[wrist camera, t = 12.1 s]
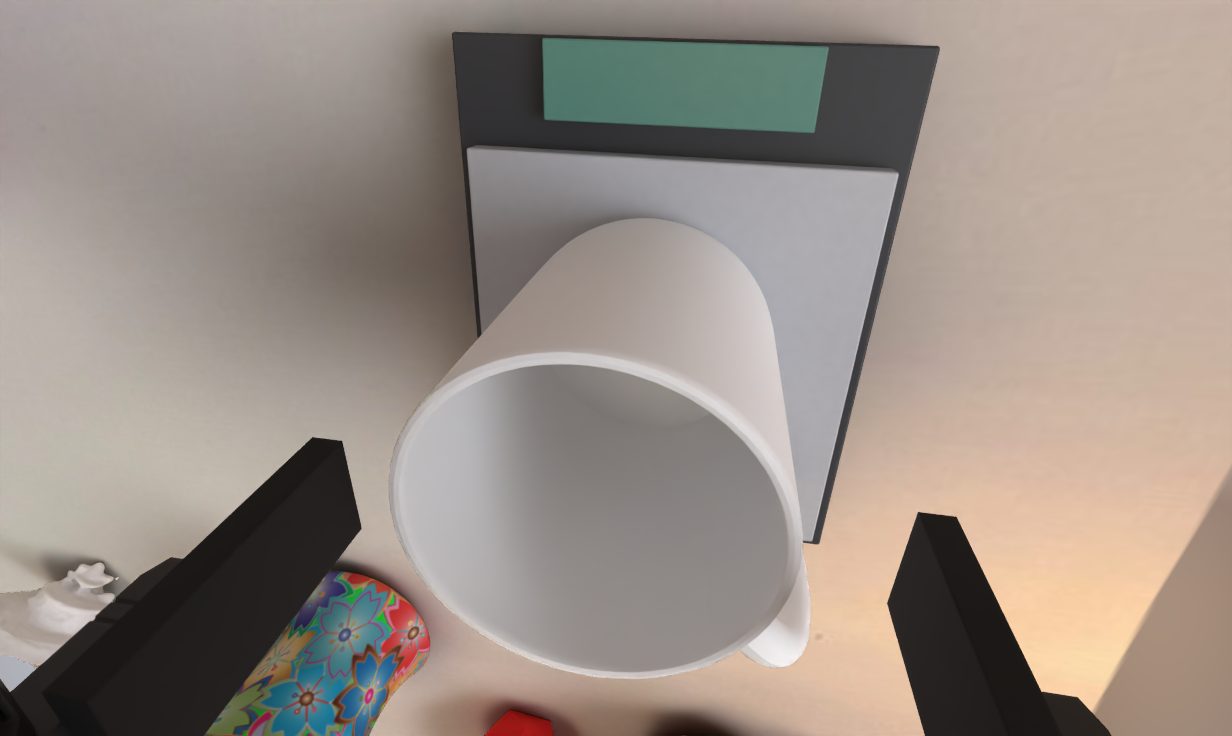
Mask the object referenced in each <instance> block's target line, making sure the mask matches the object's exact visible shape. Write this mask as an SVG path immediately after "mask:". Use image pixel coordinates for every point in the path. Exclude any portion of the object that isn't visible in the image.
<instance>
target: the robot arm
mask: <svg viewBox="0 0 1232 736" xmlns="http://www.w3.org/2000/svg"><path fill="white" fill-rule="evenodd" d="M360 530H361V523H360V519H359V514H358V510H357V505H356V501H355V496H354V492H353V487H352V483H351V479H350V474H349V470H348V465H347V461H346V456H345V452H344V447H343V443H342V441H338V440H330V439H322V438H314V437H312V438H311V439H310V440H309V441H308V442H307V443H306V444H305V445H304V446H303V447H302V448H301V449H300V450H299V451H297V452H296V453H295V454H294V455H293V456H292V457H291V458H290V459H289V460H288V461H287V462H286V463H285V464H284V465H283V466H282V467H280V468H279V469H278V470H277V471H276V472H275V473H274V474H273V475H272V476H271V477H270V478H269V479H268V480H267V481H266V482H265V483H263V484H262V485H261V486H260V487H259V488H258V489H257V490H256V491H255V492H254V493H253V494H252V495H251V496H250V497H249V498H248V499H246V500H245V501H244V502H243V503H242V504H241V505H240V506H239V507H238V508H237V509H236V510H235V511H234V512H233V513H232V514H231V515H229V516H228V517H227V518H226V519H225V520H224V521H223V522H222V523H221V524H220V525H219V526H218V527H217V528H216V529H215V530H214V531H212V532H211V533H210V534H209V535H208V536H207V537H206V538H205V539H204V540H203V541H202V542H201V543H200V544H199V545H198V546H197V547H195V548H194V549H193V550H192V551H191V552H190V553H189V554H188V555H187V556H186V557H185V558H184V559H179V558H172V557H171V558H169V559H167V560H166V561H164V562H162V563H161V564H159V565H157V566H156V567H154V568H152V569H150V570H149V571H147V572H145V573H144V574H142V575H140V576H139V577H138V578H137V579H136V580H135V581H134V582H133V583H131V584H130V585H129V586H128V587H127V588H126V589H125V590H124V591H123V592H121V593H120V594H119V595H118V596H117V597H116V600H115V601H114V602H110V603H109V604H108V605H107V606H106V607H105V608H104V609H103V610H101V611H100V612H99V613H98V614H97V615H96V616H95V619H94V621H89V622H88V623H87V624H86V625H85V626H84V627H83V628H81V629H80V630H79V631H78V632H77V633H76V634H75V635H74V636H73V637H71V638H70V639H69V640H68V641H67V642H66V643H65V644H64V645H63V646H61V647H60V648H59V649H58V650H57V651H56V652H55V653H54V654H53V655H51V656H50V657H49V658H48V659H47V660H46V661H45V662H44V663H43V664H41V665H40V666H39V667H38V668H37V669H36V670H35V671H34V672H33V673H31V674H30V675H29V676H28V677H27V678H26V679H25V680H24V681H23V682H21V683H20V684H19V685H18V686H17V687H16V688H15V689H14V690H12V691H11V692H9V691H8V689H7V688H6V686H5V685H4V683H3V682H2V681H1V679H0V736H204V735H205V734H206V732H207V731H208V730H209V728H210V727H211V726H212V724H213V723H214V722H215V720H216V719H217V718H218V716H219V715H220V714H221V713H222V711H223V710H224V709H225V707H226V706H227V705H228V703H229V702H230V701H231V699H232V698H233V697H234V695H235V694H236V693H237V691H238V690H239V689H240V688H241V686H242V685H243V684H244V682H245V681H246V680H247V678H248V677H249V676H250V674H251V673H252V672H253V670H254V669H255V668H256V666H257V665H258V664H259V663H260V661H261V660H262V659H263V657H264V656H265V655H266V653H267V652H268V651H269V649H270V648H271V647H272V645H273V644H274V643H275V641H276V640H277V639H278V638H279V636H280V635H281V634H282V632H283V631H284V630H285V628H286V627H287V626H288V624H289V623H290V622H291V620H292V619H293V618H294V617H295V615H296V614H297V613H298V611H299V610H300V609H301V607H302V606H303V605H304V603H305V602H306V601H307V599H308V598H309V597H310V595H311V594H312V593H313V592H314V590H315V589H316V588H317V586H318V585H319V584H320V582H321V581H322V580H323V578H324V577H325V576H326V574H327V573H328V572H329V570H330V569H331V568H332V567H333V565H334V564H335V563H336V561H337V560H338V559H339V557H340V556H341V555H342V553H343V552H344V551H345V549H346V548H347V547H348V545H349V544H350V543H351V542H352V540H353V539H354V538H355V536H356V535H357V534H358V532H359V531H360ZM887 604H888V608H889V611H890V615H891V618H892V622H893V625H894V629H895V632H896V636H897V639H898V643H899V646H900V650H901V653H902V657H903V660H904V664H905V667H906V671H907V674H908V678H909V681H910V685H911V688H912V692H913V695H914V699H915V702H916V706H917V709H918V713H919V716H920V720H921V723H922V727H923V730H924V734H925V736H1111V734H1110V733H1109V731H1108V730H1107V728H1106V727H1105V726H1104V725H1103V724H1102V723H1101V722H1100V721H1099V720H1098V719H1097V718H1096V717H1095V715H1094V714H1093V713H1092V712H1091V711H1090V710H1089V709H1088V708H1087V707H1086V706H1085V705H1084V704H1083V703H1082V702H1081V701H1080V699H1079V698H1078V697H1072V696H1066V695H1060V694H1053V693H1047V692H1041V690H1040V688H1039V686H1038V684H1037V682H1036V680H1035V678H1034V676H1033V673H1032V671H1031V669H1030V667H1029V665H1028V663H1027V661H1026V659H1025V657H1024V655H1023V653H1022V651H1021V649H1020V647H1019V645H1018V643H1017V641H1016V638H1015V636H1014V634H1013V632H1012V630H1011V628H1010V626H1009V624H1008V622H1007V620H1006V618H1005V616H1004V614H1003V612H1002V610H1001V608H1000V606H999V603H998V601H997V599H996V597H995V595H994V593H993V591H992V589H991V587H990V585H989V583H988V581H987V579H986V577H985V575H984V573H983V571H982V568H981V566H980V564H979V562H978V560H977V558H976V556H975V554H974V552H973V550H972V548H971V546H970V544H969V542H968V540H967V538H966V536H965V533H964V531H963V529H962V527H961V525H960V523H959V521H958V519H957V517H953V516H945V515H937V514H929V513H921V512H918V514H917V517H916V520H915V523H914V526H913V529H912V532H911V535H910V538H909V541H908V544H907V546H906V549H905V552H904V555H903V558H902V561H901V564H900V567H899V570H898V573H897V576H896V579H895V582H894V585H893V588H892V591H891V594H890V597H889V599H888V602H887Z"/></svg>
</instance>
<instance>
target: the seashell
mask: <svg viewBox="0 0 1232 736" xmlns="http://www.w3.org/2000/svg"><path fill="white" fill-rule="evenodd" d="M104 569H105V567H104V565H103V563H96V564H94V565H93V566H88V565H86V564H80V565H79V567H78V568H77V570H76V571H72V570H70V571H68V574H67V577H66V578H64V579H63V580H61V581H55V582H50V583H47V584H45V585H44V586H43V587H42V588H39V589H37V590H32V591H21V592H7V593H0V654H2V655H7V656H11V657H14V658H16V659H18V660H21V661H23V662H29V664H31V665H41V664H43V663H44V662H45V661H46V660H47V659H48V658H49V657H50V656H51V655H53V654H54V653H55V652H56V651H57V650H58V649H59V648H60V647H61V646H63V645H64V644H65V643H66V642H67V641H68V640H69V639H70V638H71V637H73V636H74V635H75V634H76V633H77V632H78V631H79V630H80V629H81V628H83V627H84V626H85V625H86V624H87V623H88V622H89V621H94V619H95V616H96V615H97V614H98V613H99V612H100V611H101V610H103V609H104V608H105V607H106V606H107V605H108V604H109V603H110V602H112V601H113V599H114V598H115V594H112V593H103V586H104V585H105V584H108V583H110V582H111V581H112V580H113V579H115V580H119V577H115V578H114V577H113V576H109V575H106V574H105V573H104Z"/></svg>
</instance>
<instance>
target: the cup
mask: <svg viewBox="0 0 1232 736" xmlns="http://www.w3.org/2000/svg"><path fill="white" fill-rule="evenodd" d="M389 501H390V509H391V514H392V518H393V523H394V526H395V529H396V532H397V535H398V538H399V541H400V543H401V545H402V547H403V549H404V551H405V554H406V556H407V557H408V559H409V561H410V562H411V564H412V566H413V568H414V569H415V571H416V572H417V573H418V575H419V576H420V578H421V579H422V581H423V582H424V583H425V584H426V586H427V587H428V588H429V589H430V590H431V592H432V593H433V594H434V595H435V596H436V597H437V598H438V599H439V600H440V601H441V602H442V603H443V604H444V605H445V606H446V607H447V608H448V609H449V610H450V611H451V612H452V613H453V614H455V615H456V616H457V617H458V618H459V619H461V620H462V621H463V622H464V623H466V624H467V625H468V626H470V627H471V628H472V629H474V630H475V631H477V632H478V633H480V634H481V635H483V636H484V637H486V638H488V639H489V640H491V641H493V642H494V643H496V644H498V645H500V646H501V647H503V648H505V649H508V650H510V651H512V652H514V653H516V654H518V655H520V656H523V657H525V658H527V659H530V660H532V661H535V662H538V663H541V664H544V665H546V666H549V667H553V668H557V669H560V670H564V671H568V672H572V673H577V674H582V675H588V676H595V677H603V678H615V679H644V678H657V677H664V676H671V675H676V674H681V673H686V672H689V671H693V670H696V669H699V668H703V667H705V666H708V665H710V664H713V663H716V662H718V661H720V660H722V659H724V658H726V657H728V656H730V655H732V654H734V653H735V652H737V651H738V650H739V651H740V652H742V653H743V654H744V655H745V656H746V657H748V658H750V659H751V660H753V661H754V662H756V663H759V664H762V665H764V666H767V667H770V668H780V667H786V666H789V665H791V664H792V663H794V662H795V661H796V660H798V659H799V657H800V656H801V655H802V653H803V651H804V649H805V647H806V645H807V642H808V638H809V631H810V595H809V584H808V576H807V570H806V565H805V560H804V555H803V531H802V521H801V513H800V507H799V500H798V493H797V486H796V479H795V473H794V466H793V459H792V452H791V445H790V439H789V432H788V425H787V418H786V411H785V404H784V398H783V391H782V384H781V377H780V370H779V364H778V357H777V350H776V343H775V336H774V330H773V325H772V321H771V316H770V313H769V309H768V306H767V303H766V300H765V298H764V296H763V294H762V291H761V289H760V287H759V286H758V284H757V282H756V281H755V279H754V277H753V276H752V274H751V273H750V271H749V270H748V269H747V267H746V266H745V265H744V264H743V262H742V261H741V260H740V259H739V258H738V257H737V256H736V255H735V254H734V253H733V252H732V251H730V250H729V249H728V248H727V247H726V246H724V245H723V244H722V243H720V242H719V241H717V240H716V239H715V238H713V237H711V236H709V235H707V234H706V233H704V232H702V231H700V230H697V229H695V228H693V227H690V226H687V225H684V224H681V223H678V222H673V221H669V220H662V219H655V218H635V219H625V220H619V221H614V222H611V223H607V224H604V225H601V226H598V227H596V228H593V229H591V230H589V231H587V232H585V233H583V234H581V235H579V236H577V237H576V238H574V239H573V240H571V241H570V242H568V243H567V244H566V245H565V246H563V247H562V248H561V249H560V250H559V251H557V252H556V253H555V254H554V255H553V256H552V257H551V258H550V259H549V260H548V261H547V262H546V263H545V264H544V265H543V266H542V268H541V269H540V270H539V271H538V272H537V273H536V274H535V275H534V276H533V278H532V279H531V280H530V281H529V282H528V283H527V284H526V285H525V287H524V288H523V289H522V290H521V291H520V292H519V293H518V294H517V296H516V297H515V298H514V299H513V300H512V301H511V302H510V303H509V304H508V306H507V307H506V308H505V309H504V310H503V311H502V312H501V313H500V315H499V316H498V317H497V318H496V319H495V320H494V321H493V322H492V324H491V325H490V326H489V327H488V328H487V329H486V330H485V331H484V332H483V334H482V335H481V336H480V337H479V338H478V339H477V340H476V341H475V343H474V344H473V345H472V346H471V347H470V348H469V349H468V350H467V352H466V353H465V354H464V355H463V356H462V357H461V358H460V359H459V360H458V362H457V363H456V364H455V365H454V366H453V367H452V368H451V369H450V371H449V372H448V373H447V374H446V375H445V376H444V377H443V378H442V380H441V381H440V382H439V383H438V384H437V385H436V386H435V387H434V388H433V390H432V391H431V392H430V393H429V394H428V395H427V396H426V397H425V399H424V400H423V401H422V402H421V403H420V404H419V405H418V407H417V408H416V409H415V411H414V412H413V413H412V415H411V416H410V417H409V419H408V420H407V422H406V424H405V426H404V427H403V429H402V431H401V433H400V435H399V438H398V440H397V443H396V445H395V448H394V452H393V456H392V460H391V465H390V473H389Z"/></svg>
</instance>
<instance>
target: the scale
mask: <svg viewBox="0 0 1232 736" xmlns="http://www.w3.org/2000/svg"><path fill="white" fill-rule="evenodd" d="M452 40H453V52H454V64H455V76H456V87H457V99H458V111H459V123H460V135H461V147H462V158H463V170H464V182H465V194H466V206H467V218H468V229H469V241H470V253H471V265H472V277H473V289H474V301H475V312H476V324H477V336H478V338H479V337H480V336H481V335H482V334H483V332H484V331H485V330H486V329H487V328H488V327H489V326H490V325H491V324H492V322H493V321H494V320H495V319H496V318H497V317H498V316H499V315H500V313H501V312H502V311H503V310H504V309H505V308H506V307H507V306H508V304H509V303H510V302H511V301H512V300H513V299H514V298H515V297H516V296H517V294H518V293H519V292H520V291H521V290H522V289H523V288H524V287H525V285H526V284H527V283H528V282H529V281H530V280H531V279H532V278H533V276H534V275H535V274H536V273H537V272H538V271H539V270H540V269H541V268H542V266H543V265H544V264H545V263H546V262H547V261H548V260H549V259H550V258H551V257H552V256H553V255H554V254H555V253H556V252H557V251H559V250H560V249H561V248H562V247H563V246H565V245H566V244H567V243H568V242H570V241H571V240H573V239H574V238H576V237H577V236H579V235H581V234H583V233H585V232H587V231H589V230H591V229H593V228H596V227H598V226H601V225H604V224H607V223H611V222H614V221H619V220H625V219H635V218H655V219H662V220H669V221H673V222H678V223H681V224H684V225H687V226H690V227H693V228H695V229H697V230H700V231H702V232H704V233H706V234H707V235H709V236H711V237H713V238H715V239H716V240H717V241H719V242H720V243H722V244H723V245H724V246H726V247H727V248H728V249H729V250H730V251H732V252H733V253H734V254H735V255H736V256H737V257H738V258H739V259H740V260H741V261H742V262H743V264H744V265H745V266H746V267H747V269H748V270H749V271H750V273H751V274H752V276H753V277H754V279H755V281H756V282H757V284H758V286H759V287H760V289H761V291H762V294H763V296H764V298H765V300H766V303H767V306H768V309H769V313H770V316H771V321H772V325H773V330H774V336H775V343H776V350H777V357H778V364H779V370H780V377H781V384H782V391H783V398H784V404H785V411H786V418H787V425H788V432H789V439H790V445H791V452H792V459H793V466H794V473H795V479H796V486H797V493H798V500H799V507H800V513H801V521H802V531H803V543H810V544H819V542H820V538H821V534H822V530H823V526H824V522H825V518H826V514H827V510H828V506H829V501H830V497H831V493H832V489H833V485H834V481H835V477H836V473H837V469H838V465H839V460H840V456H841V452H842V448H843V444H844V440H845V436H846V432H847V428H848V424H849V419H850V415H851V411H852V407H853V403H854V399H855V395H856V391H857V387H858V383H859V378H860V374H861V370H862V366H863V362H864V358H865V354H866V350H867V346H868V342H869V337H870V333H871V329H872V325H873V321H874V317H875V313H876V309H877V305H878V301H879V296H880V292H881V288H882V284H883V280H884V276H885V272H886V268H887V264H888V260H889V255H890V251H891V247H892V243H893V239H894V235H895V231H896V227H897V223H898V219H899V214H900V210H901V206H902V202H903V198H904V194H905V190H906V186H907V182H908V178H909V173H910V169H911V165H912V161H913V157H914V153H915V149H916V145H917V141H918V137H919V132H920V128H921V124H922V120H923V116H924V112H925V108H926V104H927V100H928V96H929V91H930V87H931V83H932V79H933V75H934V71H935V67H936V63H937V59H938V55H939V50H940V48H939V47H938V46H921V45H887V44H852V43H818V42H784V41H750V40H716V39H682V38H647V37H613V36H579V35H545V34H511V33H476V32H453V33H452Z"/></svg>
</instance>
